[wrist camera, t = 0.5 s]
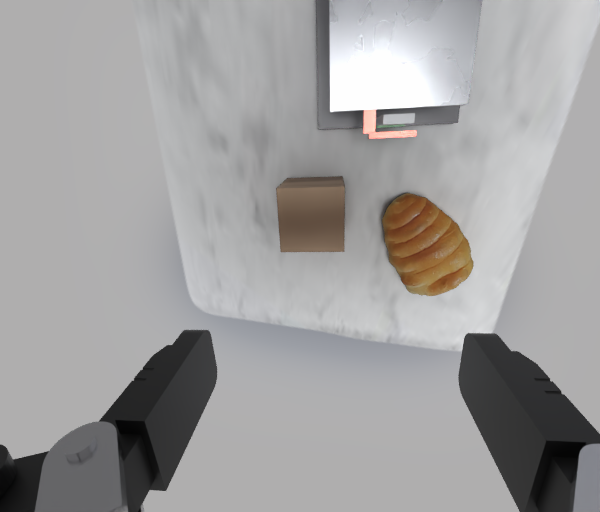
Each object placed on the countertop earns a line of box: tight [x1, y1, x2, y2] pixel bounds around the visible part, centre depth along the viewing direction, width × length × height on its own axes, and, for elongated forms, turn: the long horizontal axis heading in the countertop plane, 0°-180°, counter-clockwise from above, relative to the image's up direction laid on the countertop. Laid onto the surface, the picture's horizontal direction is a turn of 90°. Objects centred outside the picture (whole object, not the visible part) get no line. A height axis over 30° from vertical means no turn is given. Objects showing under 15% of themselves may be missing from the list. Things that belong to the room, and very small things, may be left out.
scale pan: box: [329, 0, 482, 139], centre depth 21 cm, size 11×9×2 cm
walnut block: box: [276, 176, 345, 252], centre depth 27 cm, size 5×5×6 cm
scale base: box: [316, 0, 460, 129], centre depth 22 cm, size 11×11×6 cm
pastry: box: [382, 193, 473, 296], centre depth 28 cm, size 9×7×4 cm
